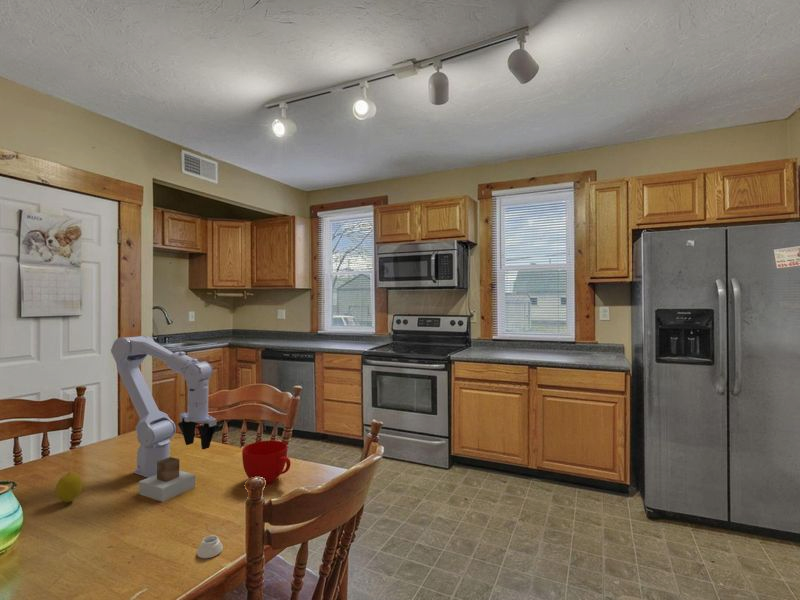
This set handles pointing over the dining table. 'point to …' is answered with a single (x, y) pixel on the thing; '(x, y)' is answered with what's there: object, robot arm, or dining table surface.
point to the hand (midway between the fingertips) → (197, 446)
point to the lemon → (69, 487)
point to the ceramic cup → (265, 460)
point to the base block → (166, 486)
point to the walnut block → (167, 469)
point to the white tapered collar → (209, 547)
